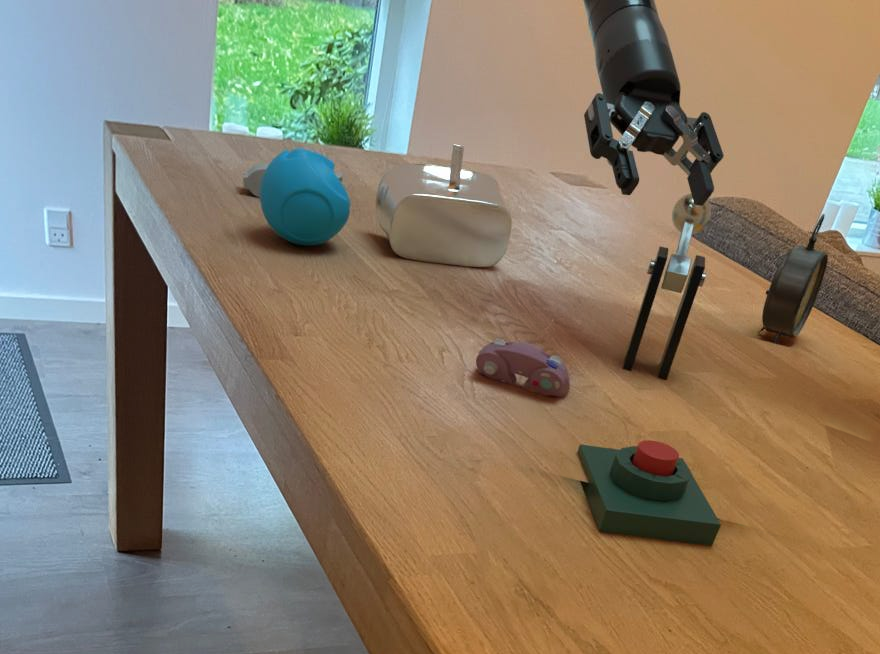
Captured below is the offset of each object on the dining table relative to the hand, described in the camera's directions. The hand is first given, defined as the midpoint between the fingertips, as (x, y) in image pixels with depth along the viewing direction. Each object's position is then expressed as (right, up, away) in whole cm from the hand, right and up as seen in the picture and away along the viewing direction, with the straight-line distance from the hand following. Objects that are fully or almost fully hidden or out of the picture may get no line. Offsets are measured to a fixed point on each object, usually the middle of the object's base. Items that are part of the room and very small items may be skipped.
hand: (668, 194), depth 98 cm
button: (-5, -30, -13) cm, 33 cm away
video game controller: (-15, -19, +5) cm, 24 cm away
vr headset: (-21, +10, +42) cm, 48 cm away
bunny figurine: (-43, +22, +51) cm, 71 cm away
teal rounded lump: (-40, +9, +34) cm, 53 cm away
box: (-6, -32, -11) cm, 35 cm away
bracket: (+1, -15, +14) cm, 20 cm away
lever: (+4, -2, +11) cm, 12 cm away
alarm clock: (+24, -4, +35) cm, 42 cm away
